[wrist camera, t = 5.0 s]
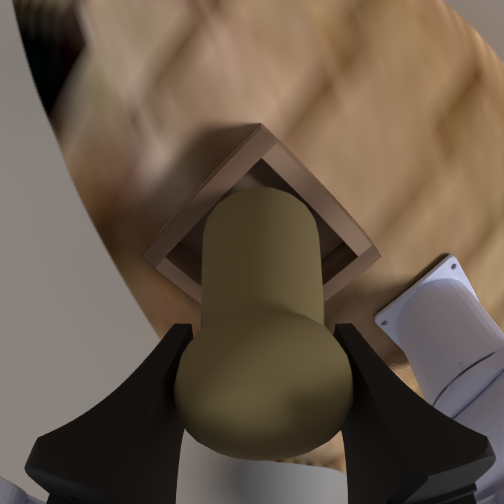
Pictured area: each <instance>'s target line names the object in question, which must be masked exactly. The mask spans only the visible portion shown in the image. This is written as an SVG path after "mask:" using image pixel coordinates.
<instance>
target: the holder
mask: <svg viewBox="0 0 504 504" xmlns="http://www.w3.org/2000/svg"><path fill="white" fill-rule="evenodd" d="M251 187H271V188H275V189H278V190H281V191H284V192H287V193H290V194H291V195H293V196H294V197H295V198H297V199H298V200H300V201H301V202H302V203H304V204H305V205H306V207H307V208H308V210H309V211H310V213H311V214H312V216H313V217H314V219H315V222H316V226H317V230H318V234H319V243H320V256H321V269H322V284H323V301H324V303H325V302H326V301H327V300H328V299H330V298H331V297H332V296H334V295H335V294H336V293H337V292H339V291H340V290H341V289H342V288H344V287H345V286H346V285H348V284H349V283H350V282H351V281H353V280H354V279H355V278H356V277H357V276H359V275H360V274H361V273H362V272H364V271H365V270H366V269H367V268H368V267H370V266H371V265H372V264H373V263H375V262H376V261H377V260H378V259H379V258H380V257H382V256H381V255H380V253H379V252H378V250H377V249H376V247H375V246H374V244H373V243H372V241H371V240H370V238H369V237H368V236H367V234H366V233H365V231H364V230H363V229H362V228H361V227H360V225H359V224H358V223H357V222H356V221H355V220H354V219H353V218H352V216H351V215H350V214H349V213H348V212H347V211H346V210H345V209H344V207H343V206H342V205H341V204H340V203H339V202H338V201H337V200H336V199H335V198H334V196H333V195H332V194H331V193H330V192H329V191H328V190H327V189H326V188H325V187H324V186H323V185H322V184H321V183H320V181H319V180H318V179H317V178H316V177H315V176H314V175H313V174H312V173H311V172H310V171H309V170H308V169H307V168H306V167H305V166H304V165H303V164H302V163H301V162H300V161H299V160H298V159H297V158H296V157H295V156H294V155H293V154H292V153H291V152H290V151H289V150H288V149H287V148H286V147H285V146H284V145H283V144H282V143H281V142H280V141H279V140H278V139H277V138H276V137H275V136H274V135H273V134H272V133H271V132H270V131H269V130H268V129H267V128H266V127H265V126H264V125H263V124H262V123H260V124H259V125H258V126H257V127H256V128H255V129H254V130H253V131H252V132H251V133H250V134H249V135H248V136H247V137H246V138H245V139H244V140H243V141H242V142H241V143H240V144H239V145H238V146H237V147H236V148H235V149H234V150H233V151H232V152H231V153H230V154H229V155H228V156H227V157H226V158H225V159H224V160H223V162H222V163H221V164H220V165H219V166H218V167H217V168H216V169H215V170H214V171H213V172H212V173H211V174H210V175H209V176H208V177H207V178H206V179H205V180H204V182H203V183H202V184H201V185H200V186H199V187H198V188H197V189H196V190H195V191H194V192H193V193H192V195H191V196H190V197H189V198H188V199H187V200H186V201H185V202H184V203H183V204H182V206H181V207H180V208H179V209H178V210H177V211H176V212H175V213H174V215H173V216H172V217H171V218H170V219H169V220H168V221H167V222H166V224H165V225H164V226H163V227H162V228H161V229H160V231H159V232H158V233H157V235H156V236H155V238H154V239H153V241H152V242H151V244H150V245H149V247H148V248H147V250H146V251H145V253H144V254H143V256H142V258H143V259H144V260H145V261H147V262H148V263H149V264H150V265H152V266H153V267H154V268H155V269H156V270H158V271H159V272H160V273H161V274H163V275H164V276H165V277H166V278H168V279H169V280H170V281H172V282H173V283H174V284H175V285H177V286H178V287H179V288H180V289H182V290H183V291H184V292H186V293H187V294H188V295H189V296H191V297H192V298H193V299H195V300H196V301H197V302H199V303H200V304H201V286H202V247H203V232H204V229H205V225H206V222H207V218H208V217H209V215H210V214H211V213H212V211H213V210H214V208H215V207H216V206H217V204H218V203H220V202H221V201H223V200H224V199H225V198H227V197H228V196H230V195H231V194H232V193H235V192H238V191H241V190H245V189H248V188H251Z"/></svg>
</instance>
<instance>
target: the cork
mask: <svg viewBox="0 0 504 504" xmlns="http://www.w3.org/2000/svg"><path fill="white" fill-rule="evenodd" d="M353 395H354V384H353V378H352V372H351V368H350V364H349V361H348V357H347V355H346V353H345V352H344V350H343V349H342V347H341V346H340V344H339V343H338V342H337V340H336V339H335V338H334V337H333V335H332V334H331V333H330V331H329V330H328V329H327V328H326V327H325V320H324V301H323V284H322V269H321V256H320V243H319V234H318V230H317V226H316V222H315V219H314V217H313V216H312V214H311V213H310V211H309V210H308V208H307V207H306V205H305V204H304V203H302V202H301V201H300V200H298V199H297V198H295V197H294V196H293V195H291V194H290V193H287V192H284V191H281V190H278V189H275V188H271V187H251V188H248V189H245V190H241V191H238V192H235V193H232V194H231V195H230V196H228V197H227V198H225V199H224V200H223V201H221V202H220V203H218V204H217V206H216V207H215V208H214V210H213V211H212V213H211V214H210V215H209V217H208V218H207V222H206V225H205V229H204V232H203V247H202V286H201V330H200V331H199V333H198V334H197V335H196V336H195V337H194V338H193V339H192V341H191V342H190V343H189V344H188V346H187V348H186V349H185V351H184V352H183V354H182V356H181V360H180V363H179V367H178V371H177V375H176V379H175V383H174V399H175V405H176V408H177V411H178V414H179V417H180V419H181V421H182V423H183V425H184V427H185V429H186V431H187V432H188V433H189V434H190V435H191V436H192V437H193V438H194V439H195V440H196V441H197V442H199V443H201V444H203V445H205V446H206V447H208V448H210V449H212V450H214V451H216V452H218V453H220V454H223V455H227V456H230V457H233V458H239V459H246V460H254V461H257V460H258V461H259V460H260V461H264V460H279V459H286V458H292V457H295V456H298V455H302V454H305V453H308V452H310V451H312V450H314V449H316V448H317V447H319V446H321V445H323V444H325V443H326V442H328V441H330V440H331V439H332V438H333V437H334V436H335V435H336V434H337V433H338V432H339V431H340V430H341V429H342V426H343V424H344V422H345V420H346V418H347V416H348V414H349V411H350V409H351V406H352V404H353Z"/></svg>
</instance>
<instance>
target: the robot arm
mask: <svg viewBox="0 0 504 504" xmlns="http://www.w3.org/2000/svg"><path fill="white" fill-rule="evenodd" d="M453 264H454V265H453ZM452 265H453V266H452ZM451 266H452V267H451ZM374 320H375V322H376V324H377V325H378V326H379V327H380V328H381V329H382V330H383V331H384V332H385V333H386V334H387V335H388V336H389V337H390V338H391V339H392V340H393V341H394V342H395V343H396V344H397V345H398V346H399V347H400V348H401V349H402V350H403V351H404V353H405V355H406V357H407V360H408V362H409V364H410V366H411V369H412V371H413V373H414V376H415V378H416V380H417V383H418V385H419V387H420V390H421V392H422V395H423V397H424V399H422V398H421V397H420V396H418V395H417V394H416V393H415V392H414V391H413V390H411V389H410V388H409V387H408V386H407V385H406V384H405V383H404V382H403V381H402V380H400V379H399V377H398V376H397V375H396V374H395V373H394V372H393V371H392V370H391V369H390V368H389V367H388V366H387V365H386V364H385V363H384V362H383V360H382V359H381V358H380V357H379V356H378V355H377V354H376V352H375V351H374V350H373V349H372V348H371V346H370V345H369V344H368V343H367V341H366V340H365V339H364V338H363V336H362V335H361V334H360V333H359V331H358V330H357V329H356V328H355V326H354V325H353V324H352V323H348V324H335V330H334V335H333V337H334V338H335V339H336V340H337V342H338V343H339V344H340V346H341V347H342V349H343V350H344V352H345V353H346V355H347V357H348V361H349V364H350V368H351V372H352V378H353V384H354V395H353V404H352V406H351V409H350V411H349V414H348V416H347V418H346V420H345V422H344V424H343V426H342V429H341V432H342V436H343V442H344V449H345V459H346V470H347V485H348V504H504V334H503V332H502V331H501V330H500V328H499V327H498V326H497V324H496V323H495V322H494V320H493V319H492V318H491V316H490V315H489V314H488V313H487V311H486V310H485V309H484V308H483V306H482V305H481V304H480V302H479V300H478V298H477V296H476V294H475V292H474V290H473V288H472V286H471V285H470V283H469V281H468V279H467V277H466V275H465V273H464V272H463V270H462V268H461V266H460V264H459V263H458V261H457V259H456V258H455V257H454V256H453V255H448V256H447V257H445V258H444V259H443V260H442V261H441V262H440V263H439V264H438V265H436V266H435V267H434V268H433V269H432V270H431V271H429V272H428V273H427V274H426V275H425V276H424V277H422V278H421V279H420V280H419V281H418V282H416V283H415V284H414V285H413V286H412V287H410V288H409V289H408V290H407V291H405V292H404V293H403V294H402V295H401V296H399V297H398V298H397V299H396V300H394V301H393V302H392V303H390V304H389V305H388V306H387V307H385V308H384V309H383V310H381V311H380V312H379V313H377V314H376V315H375V317H374ZM383 321H385V322H384V323H382V322H383ZM192 339H193V332H192V326H191V324H177V323H175V324H174V325H173V326H172V327H171V328H170V330H169V331H168V332H167V333H166V335H165V336H164V337H163V339H162V340H161V341H160V342H159V344H158V345H157V346H156V347H155V349H154V350H153V351H152V352H151V353H150V355H149V356H148V357H147V358H146V359H145V360H144V361H143V363H142V364H141V365H140V366H139V367H138V368H137V369H136V370H135V371H134V372H133V373H132V374H131V375H130V376H129V377H128V378H127V379H126V380H125V381H124V382H123V383H122V384H121V385H120V386H119V387H118V388H117V389H116V390H115V391H113V392H112V393H111V394H110V395H109V396H107V397H106V398H105V399H104V400H102V401H101V402H100V403H98V404H97V405H96V406H95V407H93V408H91V409H90V410H89V411H87V412H86V413H84V414H83V415H81V416H79V417H78V418H76V419H75V420H73V421H71V422H69V423H67V424H66V425H64V426H62V427H60V428H58V429H56V430H54V431H51V432H49V433H47V434H45V435H43V436H40V437H38V438H37V440H36V442H35V444H34V446H33V448H32V451H31V453H30V455H29V458H28V460H27V463H26V465H25V468H24V469H25V471H26V473H27V474H28V476H29V477H31V479H33V480H34V481H35V482H36V483H37V484H38V485H40V486H41V487H42V488H43V489H45V490H46V491H47V492H48V493H50V494H49V497H48V500H47V503H46V502H43V501H41V500H39V499H36V498H34V497H32V496H30V495H28V494H27V493H26V492H25V491H24V490H22V489H21V488H19V487H18V486H17V485H15V484H13V483H12V482H10V481H8V480H6V479H4V478H2V477H0V504H176V489H177V477H178V466H179V458H180V449H181V443H182V437H183V433H184V429H185V427H184V425H183V423H182V421H181V419H180V417H179V414H178V411H177V408H176V405H175V399H174V383H175V379H176V375H177V371H178V367H179V363H180V360H181V356H182V354H183V352H184V351H185V349H186V348H187V346H188V344H189V343H190V342H191V341H192Z"/></svg>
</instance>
